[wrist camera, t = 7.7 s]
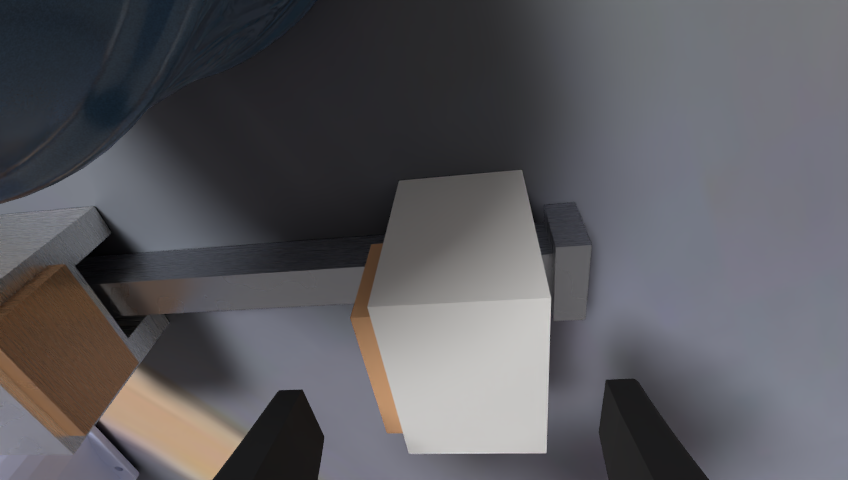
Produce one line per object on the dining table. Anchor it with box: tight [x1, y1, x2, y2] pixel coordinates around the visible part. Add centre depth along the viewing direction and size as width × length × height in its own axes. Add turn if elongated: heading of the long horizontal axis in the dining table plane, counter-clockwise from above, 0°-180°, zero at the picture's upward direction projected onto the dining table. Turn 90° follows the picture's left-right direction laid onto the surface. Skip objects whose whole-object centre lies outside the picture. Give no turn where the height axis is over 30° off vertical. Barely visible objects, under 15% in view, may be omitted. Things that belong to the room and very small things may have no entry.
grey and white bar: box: [0, 202, 592, 455], centre depth 15 cm, size 6×22×6 cm, turn 98°
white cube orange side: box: [350, 170, 551, 454], centre depth 14 cm, size 6×5×6 cm
